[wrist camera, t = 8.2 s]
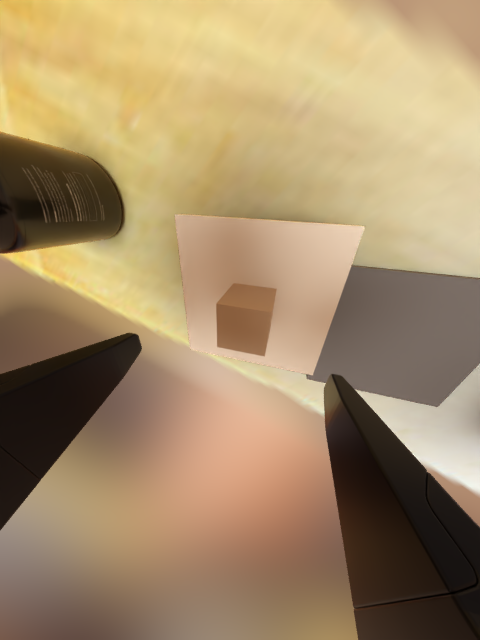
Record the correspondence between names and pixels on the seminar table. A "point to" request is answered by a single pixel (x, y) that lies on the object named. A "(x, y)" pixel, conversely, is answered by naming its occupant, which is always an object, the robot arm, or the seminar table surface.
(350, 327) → the mat
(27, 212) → the supplement bottle
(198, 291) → the lid
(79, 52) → the seminar table surface
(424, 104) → the seminar table surface
